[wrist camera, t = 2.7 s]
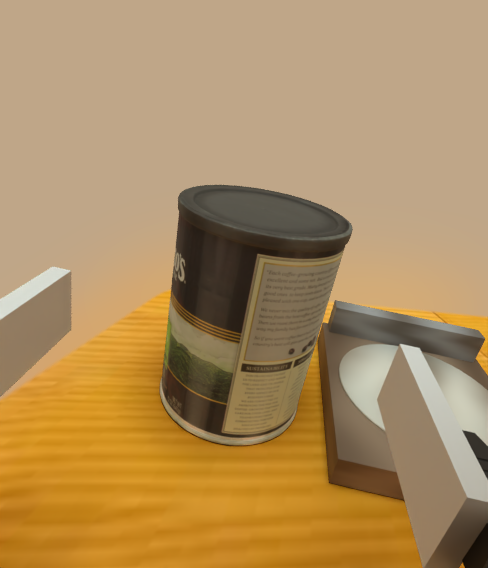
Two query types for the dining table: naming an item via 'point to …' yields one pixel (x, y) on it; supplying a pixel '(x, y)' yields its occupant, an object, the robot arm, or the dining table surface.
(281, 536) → the dining table surface
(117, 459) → the dining table surface
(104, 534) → the dining table surface
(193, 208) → the coffee can
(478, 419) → the plate
